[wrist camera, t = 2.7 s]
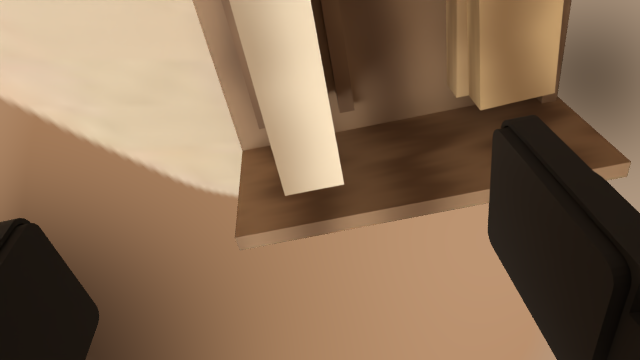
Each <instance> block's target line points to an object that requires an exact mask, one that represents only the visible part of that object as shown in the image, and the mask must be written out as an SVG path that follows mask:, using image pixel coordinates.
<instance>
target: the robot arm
mask: <svg viewBox="0 0 640 360" xmlns="http://www.w3.org/2000/svg"><path fill="white" fill-rule="evenodd" d="M488 235H489V239H490V242H491V245H492V246H493V248H494V250H495V252H496V254H497V255H498V257H499V259H500V260H501V262H502V264H503V266H504V268H505V269H506V271H507V273H508V274H509V276H510V278H511V280H512V282H513V283H514V285H515V287H516V289H517V290H518V292H519V294H520V295H521V297H522V299H523V301H524V303H525V304H526V306H527V308H528V310H529V311H530V313H531V315H532V317H533V318H534V320H535V322H536V324H537V325H538V327H539V329H540V330H541V332H542V334H543V336H544V338H545V339H546V341H547V343H548V345H549V346H550V348H551V350H552V352H553V353H554V355H555V357H556V359H557V360H640V213H639V212H638V211H637V210H636V209H635V208H634V207H633V206H631V204H630V203H629V202H628V201H626V200H625V199H624V198H623V197H622V196H621V195H620V194H619V193H618V192H617V191H616V190H615V189H614V188H613V187H612V186H611V185H610V184H609V183H608V182H607V181H606V180H605V179H604V178H603V177H602V176H600V175H599V174H597V173H596V172H594V171H593V170H592V169H591V168H590V167H589V166H588V165H587V164H586V163H585V162H584V161H583V160H582V159H581V158H580V157H579V156H578V155H577V154H576V153H575V152H574V151H573V150H572V149H571V148H570V147H569V146H568V145H566V144H565V143H564V142H563V141H562V140H561V139H560V138H559V137H558V136H557V135H556V134H555V133H554V132H553V131H552V130H551V129H550V128H549V127H548V126H547V125H546V124H545V123H544V122H543V121H542V120H541V119H540V118H539V117H538V116H536V115H528V116H523V117H518V118H513V119H508V120H505V121H503V123H502V125H501V129H496V130H495V131H494V132H493V138H492V158H491V177H490V196H489V217H488ZM98 321H99V311H98V308H97V306H96V305H95V303H94V302H93V300H92V299H91V298H90V296H89V295H88V293H87V292H86V291H85V289H84V288H83V287H82V285H81V284H80V282H79V281H78V279H77V278H76V277H75V275H74V274H73V273H72V271H71V270H70V269H69V267H68V266H67V264H66V263H65V262H64V260H63V259H62V257H61V256H60V255H59V253H58V252H57V251H56V249H55V248H54V246H53V245H52V244H51V242H50V241H49V239H48V238H47V237H46V236H45V234H44V232H43V231H42V230H41V228H40V227H39V226H38V225H36V224H34V223H30V222H29V221H28V220H26V219H22V218H18V219H13V220H8V221H3V222H0V360H85V359H86V356H87V353H88V350H89V347H90V345H91V342H92V339H93V336H94V333H95V331H96V328H97V325H98Z"/></svg>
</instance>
